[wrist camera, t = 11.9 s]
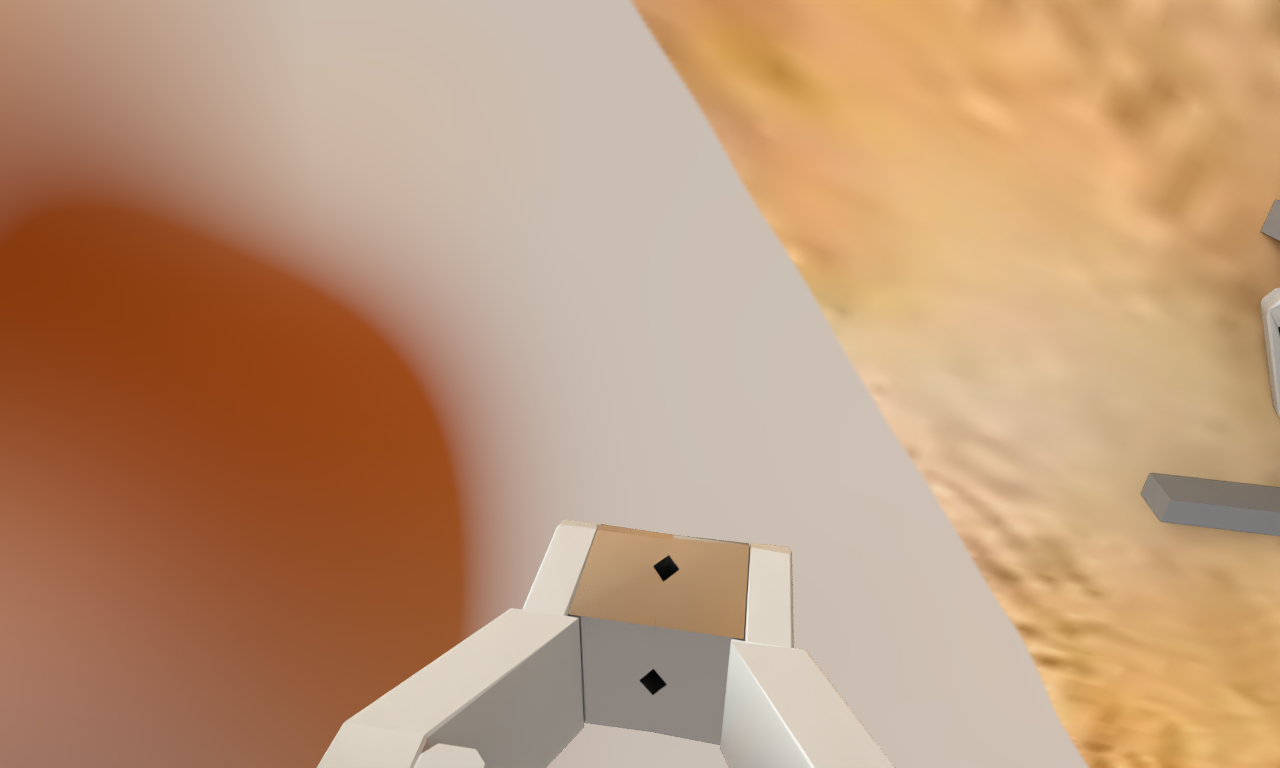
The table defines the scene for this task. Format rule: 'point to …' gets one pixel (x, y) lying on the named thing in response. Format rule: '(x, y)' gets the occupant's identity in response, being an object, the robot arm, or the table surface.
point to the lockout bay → (1218, 484)
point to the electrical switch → (1273, 341)
